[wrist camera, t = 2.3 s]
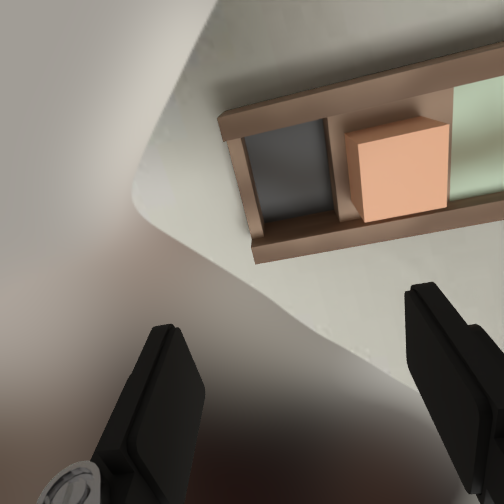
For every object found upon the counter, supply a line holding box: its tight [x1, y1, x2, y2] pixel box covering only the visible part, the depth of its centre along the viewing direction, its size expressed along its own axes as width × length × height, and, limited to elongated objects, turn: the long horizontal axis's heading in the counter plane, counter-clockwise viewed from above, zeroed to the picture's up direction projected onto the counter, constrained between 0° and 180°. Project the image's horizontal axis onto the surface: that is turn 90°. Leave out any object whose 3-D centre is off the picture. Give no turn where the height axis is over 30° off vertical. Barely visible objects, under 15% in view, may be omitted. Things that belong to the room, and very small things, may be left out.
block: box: [344, 116, 449, 222], centre depth 22 cm, size 5×5×4 cm
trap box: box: [217, 41, 504, 264], centre depth 24 cm, size 11×29×4 cm, turn 103°
